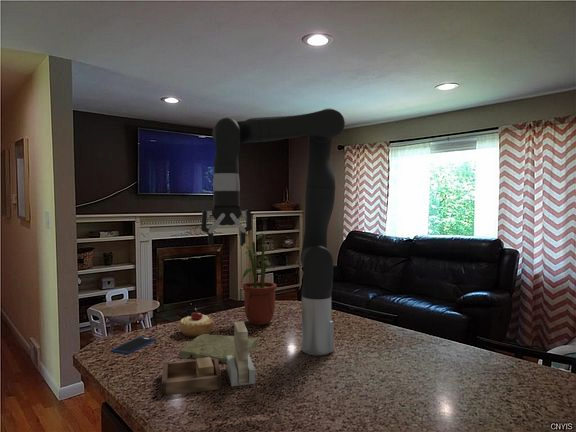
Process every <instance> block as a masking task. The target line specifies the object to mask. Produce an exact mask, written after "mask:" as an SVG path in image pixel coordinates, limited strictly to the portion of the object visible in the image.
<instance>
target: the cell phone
mask: <svg viewBox="0 0 576 432" xmlns="http://www.w3.org/2000/svg"><path fill="white" fill-rule="evenodd" d="M156 341H157V339H156V338H153V337H152V338H151V337H144V336H138V337H136V338H134V339H131V340H129V341H127V342H125V343H123V344H120V345H119V346H116V347H114V348H112V349H110V353H115V354H121V355H130V354H131V355H132V354H133V353H134V352H137V351H138V350H141V349H142V348H145V347H146V346H148V345H150V344H152V343H154V342H156Z"/></svg>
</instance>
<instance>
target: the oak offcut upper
mask: <svg viewBox="0 0 576 432" xmlns="http://www.w3.org/2000/svg"><path fill="white" fill-rule="evenodd" d="M195 360H196V368H197V372H198V375H199V377H205V376H212V375H214V366H213V363H212V361H211V358H210V357H205V358H198V359H196V358H195Z"/></svg>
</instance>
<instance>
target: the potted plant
mask: <svg viewBox="0 0 576 432" xmlns="http://www.w3.org/2000/svg"><path fill="white" fill-rule="evenodd" d="M261 237H262V239H261V240H262V241H261V259H260V260H261V262H260V272H259V270H257V256H258V254H257V252H256V242H255V241H253V242H252V244H251V245H252V246H248V245H247V246H244V248H245V249H247V250H248V251H245V252H244V255H247V254H248V257H249V261H250V265H251V267H249V268H247V269H245V270H244V272H243V275H242V278H241V283H242V282H243V280H244V279H245V277H246V276H248V274H249V273H250V272H252V277H253V281H251V282H246V283H243V284H242V289H243V291H244V293H243V294H244V297H243V298H244V312H245V313H244V314H245V318H246V319H247V321H248V322H249V323H250V324H251V325H254V326H266V325H267V324H269V323H270V322H271V321H272V320H273V318H274V315H275V309H276V289H277V283H275V282H270V281H265V277H266V271H267V270H266V269H267V265H269V266H271V265H272V269H273V270H274V269H275V263H274V262H273V261H270V260H268V258H269V256H265V248H266V246H267V244H266V233H259V234H258V235H257V236H256V240H259V238H261ZM269 246H271V244H269ZM251 249H252V250H251ZM257 274H258V275H259V274H260V279H259V281H258V275H257Z"/></svg>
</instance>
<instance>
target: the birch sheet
mask: <svg viewBox="0 0 576 432" xmlns="http://www.w3.org/2000/svg"><path fill="white" fill-rule="evenodd" d="M233 323H234V324H233V325H234V326H233V328H234V329H233V333H234V335H233V336H234V357H235V365H236V369H237V374H238V383H246V382H248V354H249V353H248V338H249V335H248V334H249V331H248V329H247V327H246V324H245V323H244V321H234V322H233Z"/></svg>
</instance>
